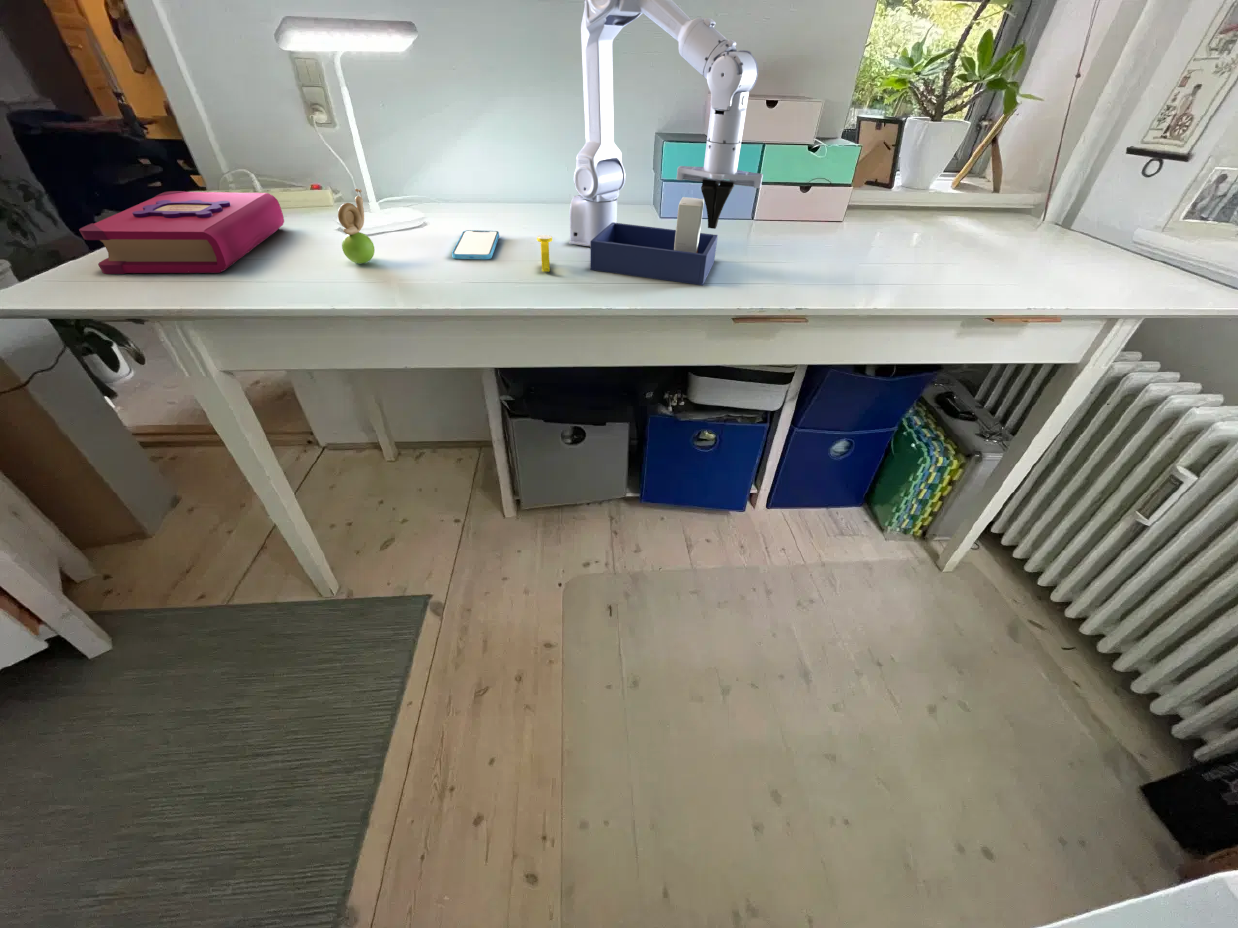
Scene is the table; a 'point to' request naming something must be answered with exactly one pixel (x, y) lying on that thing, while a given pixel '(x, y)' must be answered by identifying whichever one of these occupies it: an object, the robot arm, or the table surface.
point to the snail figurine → (355, 232)
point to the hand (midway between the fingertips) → (712, 227)
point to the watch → (545, 251)
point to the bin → (650, 254)
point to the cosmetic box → (688, 224)
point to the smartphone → (476, 245)
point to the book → (186, 232)
